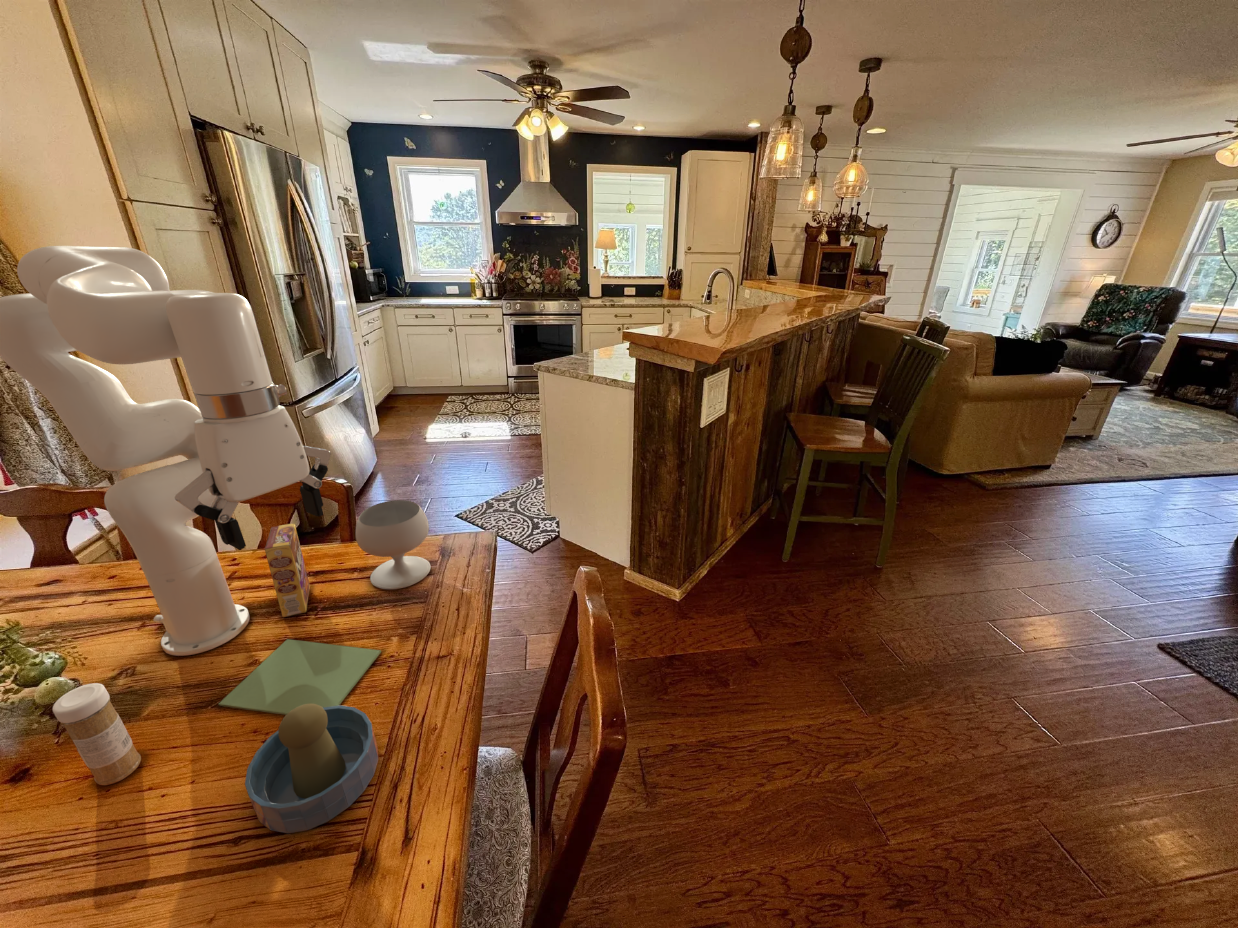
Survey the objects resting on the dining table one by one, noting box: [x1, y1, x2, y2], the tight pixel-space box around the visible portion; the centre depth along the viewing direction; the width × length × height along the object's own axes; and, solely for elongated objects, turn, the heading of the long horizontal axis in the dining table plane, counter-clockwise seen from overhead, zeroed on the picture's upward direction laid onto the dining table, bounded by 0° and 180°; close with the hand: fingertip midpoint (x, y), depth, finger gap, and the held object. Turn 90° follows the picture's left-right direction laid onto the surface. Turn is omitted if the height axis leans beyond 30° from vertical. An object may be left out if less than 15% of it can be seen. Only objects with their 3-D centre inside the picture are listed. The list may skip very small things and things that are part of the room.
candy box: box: [264, 523, 311, 618], centre depth 95 cm, size 9×4×15 cm, turn 26°
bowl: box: [244, 704, 379, 834], centre depth 64 cm, size 14×14×5 cm
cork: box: [278, 704, 346, 799], centre depth 63 cm, size 6×6×11 cm
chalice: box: [355, 499, 432, 590], centre depth 104 cm, size 14×14×15 cm
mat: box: [218, 638, 382, 716], centre depth 80 cm, size 18×14×1 cm
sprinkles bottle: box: [51, 682, 142, 786], centre depth 63 cm, size 5×5×13 cm
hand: (278, 529), depth 65 cm, fingers open, 9 cm apart
